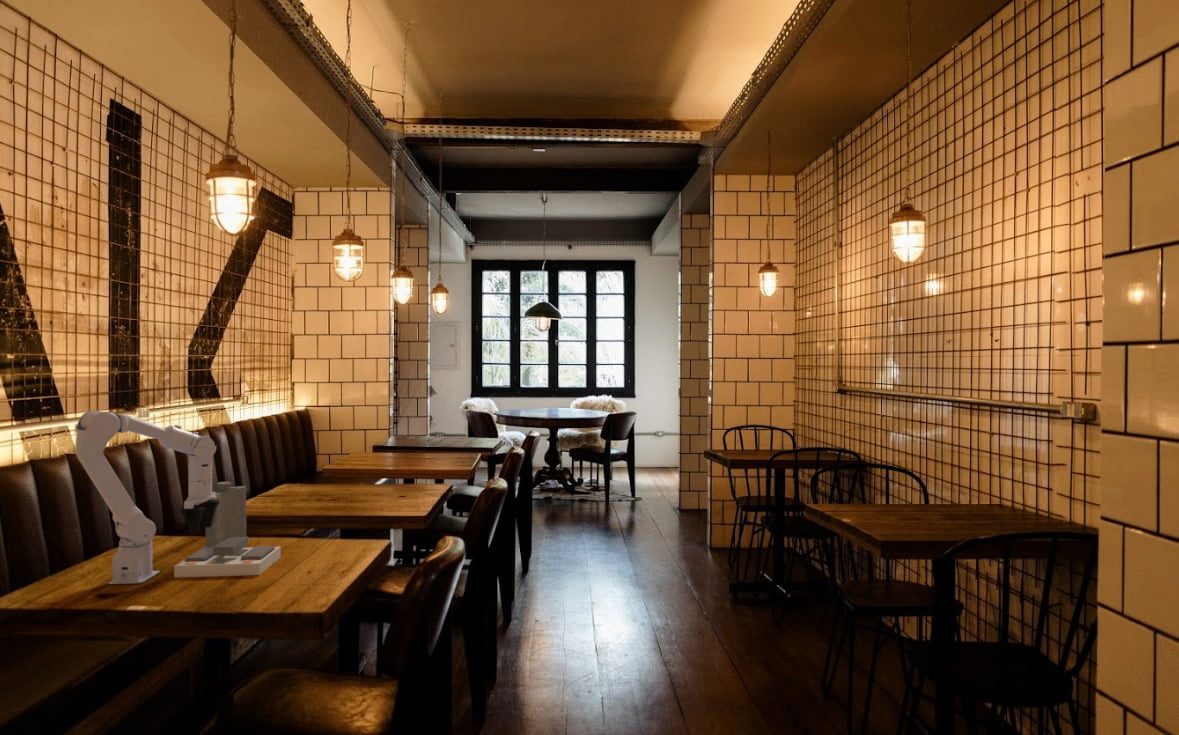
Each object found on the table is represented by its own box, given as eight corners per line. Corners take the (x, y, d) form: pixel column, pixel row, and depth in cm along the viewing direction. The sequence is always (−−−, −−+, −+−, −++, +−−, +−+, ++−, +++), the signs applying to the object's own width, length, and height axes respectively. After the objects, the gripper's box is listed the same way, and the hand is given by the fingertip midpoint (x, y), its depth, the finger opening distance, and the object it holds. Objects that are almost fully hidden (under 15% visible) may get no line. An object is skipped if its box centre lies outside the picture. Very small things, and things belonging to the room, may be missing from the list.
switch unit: (259, 574, 193) (259, 562, 193) (174, 577, 191) (174, 564, 191) (280, 557, 210) (280, 546, 210) (202, 559, 208) (202, 548, 208)
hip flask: (213, 558, 209) (212, 487, 209) (200, 557, 210) (199, 486, 210) (248, 544, 225) (248, 478, 225) (236, 543, 226) (235, 477, 225)
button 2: (260, 564, 196) (260, 556, 196) (241, 564, 196) (240, 556, 196) (274, 553, 207) (274, 545, 207) (255, 553, 207) (255, 546, 207)
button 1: (205, 565, 195) (205, 557, 195) (185, 566, 195) (185, 558, 195) (222, 554, 206) (222, 546, 206) (203, 555, 206) (203, 547, 206)
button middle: (233, 555, 196) (232, 546, 196) (213, 555, 195) (213, 547, 195) (248, 544, 207) (248, 536, 207) (229, 545, 206) (229, 537, 206)
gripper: (203, 484, 196) (203, 536, 196) (226, 476, 210) (226, 524, 210) (175, 484, 195) (176, 536, 195) (200, 476, 210) (200, 524, 210)
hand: (200, 530), depth 203 cm, fingers open, 7 cm apart
